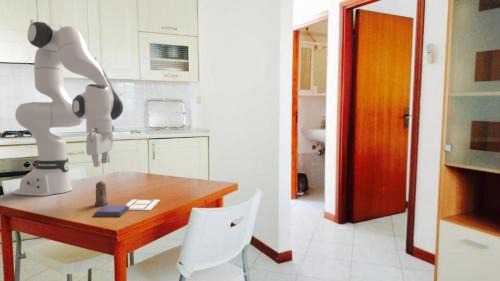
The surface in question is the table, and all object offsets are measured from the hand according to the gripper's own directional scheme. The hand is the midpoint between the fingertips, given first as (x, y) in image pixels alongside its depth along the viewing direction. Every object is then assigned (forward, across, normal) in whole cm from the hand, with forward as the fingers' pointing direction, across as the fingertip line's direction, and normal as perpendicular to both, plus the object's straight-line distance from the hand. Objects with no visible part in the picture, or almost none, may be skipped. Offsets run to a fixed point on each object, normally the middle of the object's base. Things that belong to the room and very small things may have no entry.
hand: (100, 164), depth 133 cm
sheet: (+16, -1, -14) cm, 21 cm away
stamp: (+15, +1, 0) cm, 15 cm away
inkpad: (+16, -10, -6) cm, 20 cm away
